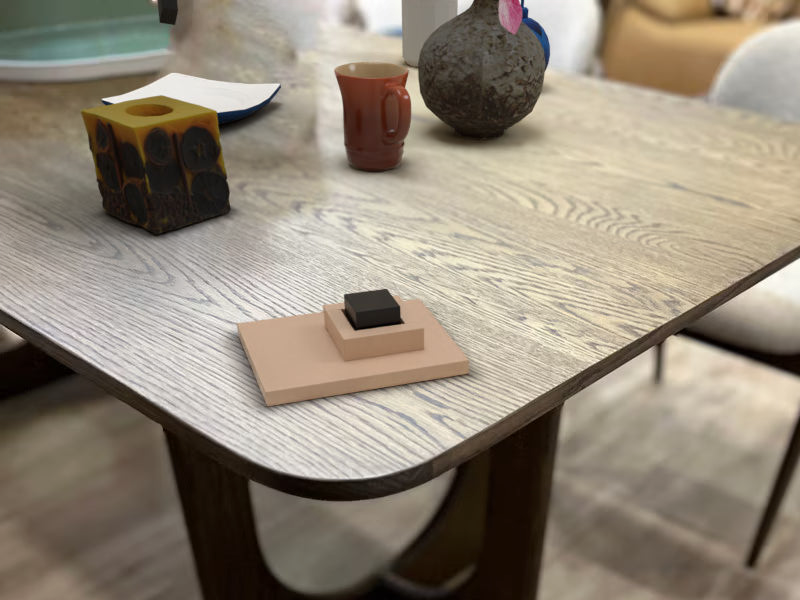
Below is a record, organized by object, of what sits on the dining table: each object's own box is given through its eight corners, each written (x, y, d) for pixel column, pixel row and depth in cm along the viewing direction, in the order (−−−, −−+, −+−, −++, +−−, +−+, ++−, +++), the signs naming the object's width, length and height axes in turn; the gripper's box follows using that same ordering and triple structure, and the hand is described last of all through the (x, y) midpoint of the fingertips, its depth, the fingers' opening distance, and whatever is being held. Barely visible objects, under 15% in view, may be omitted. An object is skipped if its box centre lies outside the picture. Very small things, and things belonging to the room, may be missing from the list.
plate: (224, 137, 113) (221, 115, 111) (95, 122, 118) (89, 100, 116) (292, 103, 127) (290, 82, 126) (174, 90, 132) (170, 70, 130)
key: (357, 334, 65) (355, 312, 64) (344, 315, 68) (343, 293, 67) (401, 327, 66) (400, 306, 65) (387, 309, 69) (386, 288, 68)
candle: (156, 237, 86) (133, 129, 79) (100, 213, 91) (74, 109, 84) (235, 212, 92) (220, 109, 85) (179, 191, 97) (160, 92, 90)
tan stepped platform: (267, 406, 62) (261, 369, 60) (238, 336, 70) (233, 302, 68) (468, 373, 66) (470, 337, 64) (419, 311, 74) (419, 278, 72)
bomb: (470, 89, 136) (474, -25, 126) (511, 79, 142) (518, -32, 132) (518, 100, 131) (525, -18, 121) (558, 89, 137) (569, -25, 127)
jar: (407, 70, 146) (405, -62, 133) (398, 58, 153) (395, -68, 140) (462, 68, 147) (465, -62, 135) (450, 57, 154) (453, -68, 142)
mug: (327, 160, 106) (320, 66, 99) (386, 150, 110) (383, 59, 103) (376, 186, 99) (372, 87, 92) (437, 175, 103) (438, 78, 96)
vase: (479, 111, 126) (489, -158, 106) (569, 136, 117) (599, -153, 97) (395, 131, 117) (389, -159, 97) (485, 159, 108) (500, -154, 88)
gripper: (66, -312, 73) (98, -17, 77) (218, -267, 78) (242, 7, 82) (67, -242, 80) (96, 25, 84) (207, -206, 85) (229, 45, 89)
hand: (168, 16), depth 83 cm, fingers closed
